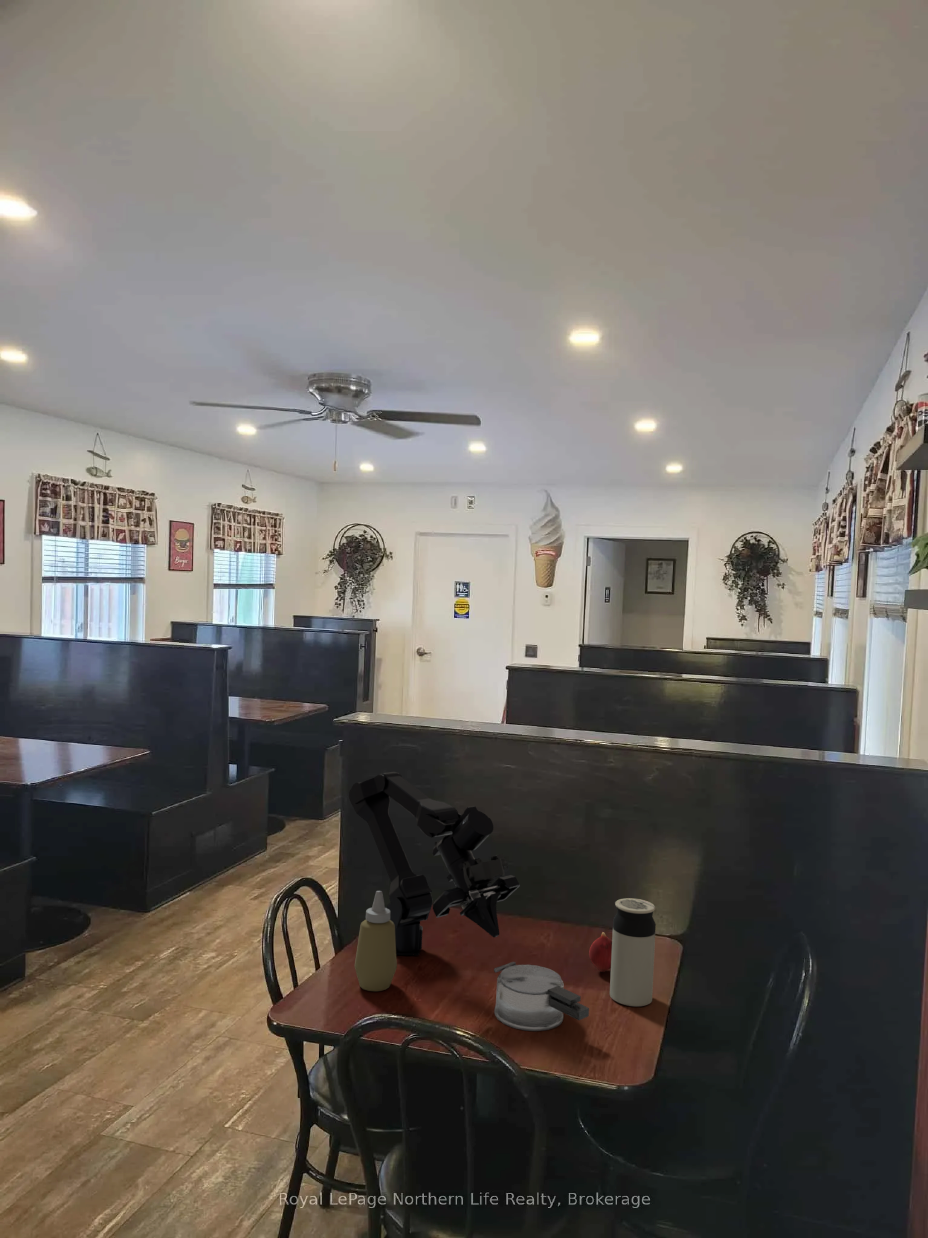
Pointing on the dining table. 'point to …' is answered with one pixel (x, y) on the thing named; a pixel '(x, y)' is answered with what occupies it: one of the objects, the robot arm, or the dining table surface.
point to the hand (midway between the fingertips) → (496, 936)
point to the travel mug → (632, 952)
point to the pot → (533, 1009)
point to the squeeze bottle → (376, 948)
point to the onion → (601, 953)
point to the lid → (535, 981)
